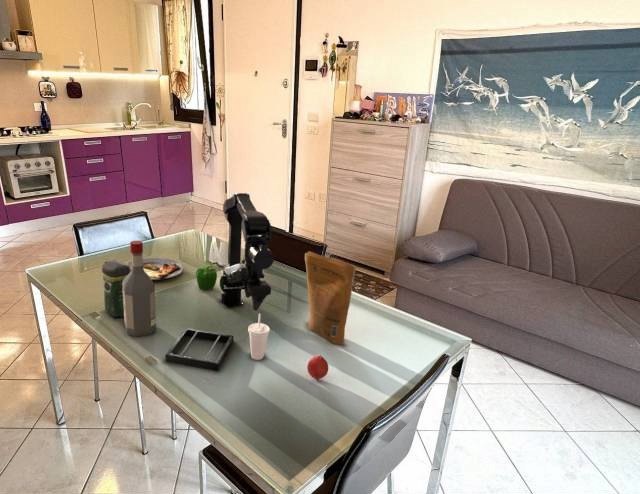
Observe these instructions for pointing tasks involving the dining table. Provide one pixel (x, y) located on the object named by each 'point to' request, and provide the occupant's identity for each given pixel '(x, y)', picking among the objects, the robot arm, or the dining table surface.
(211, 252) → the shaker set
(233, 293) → the robot arm
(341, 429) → the dining table surface
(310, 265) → the pancake mix bag
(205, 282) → the bell pepper
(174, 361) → the divided serving tray
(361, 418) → the dining table surface
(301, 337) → the dining table surface
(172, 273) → the food plate
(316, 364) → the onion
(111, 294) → the coffee jar
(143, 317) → the liquor
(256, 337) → the smoothie
